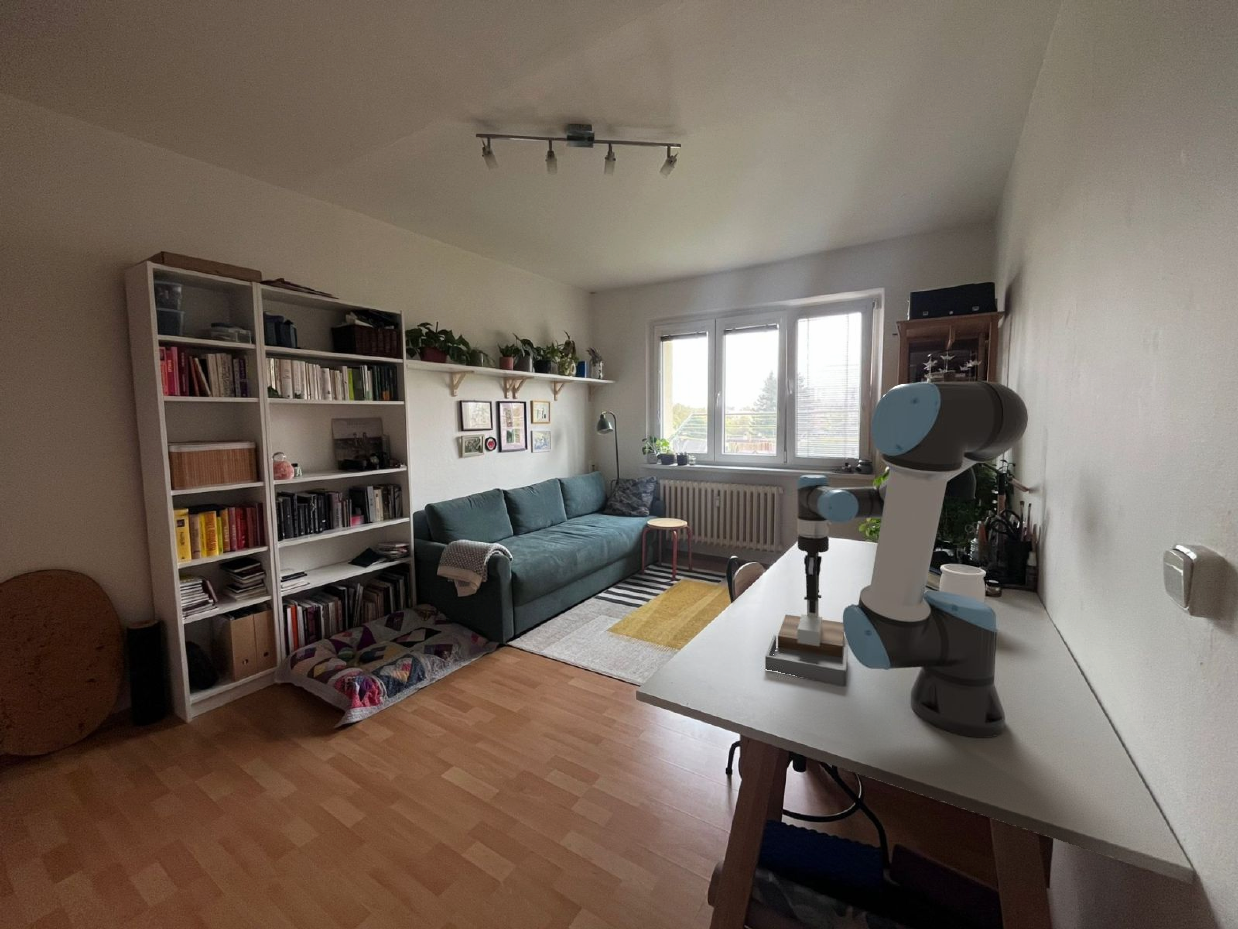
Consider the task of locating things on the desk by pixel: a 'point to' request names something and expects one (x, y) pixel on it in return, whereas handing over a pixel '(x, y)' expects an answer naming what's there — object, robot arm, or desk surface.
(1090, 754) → the desk surface
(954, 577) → the jar
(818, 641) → the light grey block
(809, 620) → the tile
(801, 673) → the tray
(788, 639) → the board
